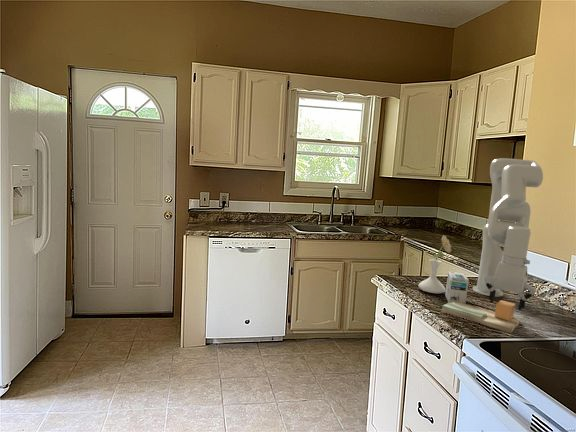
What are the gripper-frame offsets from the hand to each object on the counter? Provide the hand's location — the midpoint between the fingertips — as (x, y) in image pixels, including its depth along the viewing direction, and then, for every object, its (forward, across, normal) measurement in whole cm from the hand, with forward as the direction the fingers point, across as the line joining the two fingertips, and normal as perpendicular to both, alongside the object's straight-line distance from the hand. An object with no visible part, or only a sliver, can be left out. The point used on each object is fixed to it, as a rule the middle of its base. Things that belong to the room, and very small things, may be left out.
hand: (505, 305), depth 160 cm
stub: (+4, 0, +1) cm, 4 cm away
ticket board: (+6, +7, +4) cm, 10 cm away
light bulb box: (+7, +21, -9) cm, 24 cm away
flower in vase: (+7, +32, -13) cm, 35 cm away
